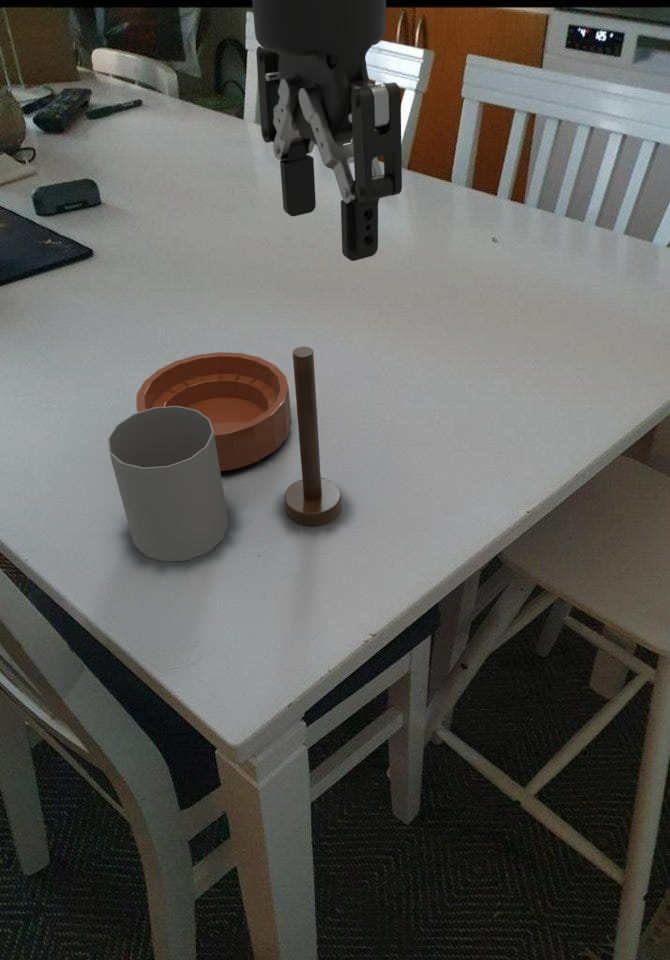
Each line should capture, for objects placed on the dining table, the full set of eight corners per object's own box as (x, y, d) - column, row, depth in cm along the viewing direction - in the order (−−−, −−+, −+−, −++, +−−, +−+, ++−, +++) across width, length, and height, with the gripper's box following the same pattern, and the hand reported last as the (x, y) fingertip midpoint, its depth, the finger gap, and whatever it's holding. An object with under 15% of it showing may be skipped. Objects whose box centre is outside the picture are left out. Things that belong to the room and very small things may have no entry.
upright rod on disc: (301, 533, 70) (287, 375, 60) (276, 501, 73) (259, 346, 63) (351, 514, 71) (347, 357, 61) (325, 483, 75) (316, 329, 65)
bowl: (175, 497, 74) (166, 454, 71) (127, 418, 84) (117, 377, 81) (316, 447, 79) (313, 405, 76) (255, 378, 89) (250, 338, 86)
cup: (113, 547, 69) (86, 454, 63) (163, 488, 75) (143, 398, 69) (199, 571, 67) (180, 477, 60) (244, 509, 72) (231, 417, 66)
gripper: (204, -60, 47) (235, 211, 58) (316, -33, 38) (329, 288, 48) (317, -71, 50) (328, 190, 60) (449, -49, 40) (435, 259, 51)
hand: (328, 233), depth 54 cm, fingers open, 8 cm apart
